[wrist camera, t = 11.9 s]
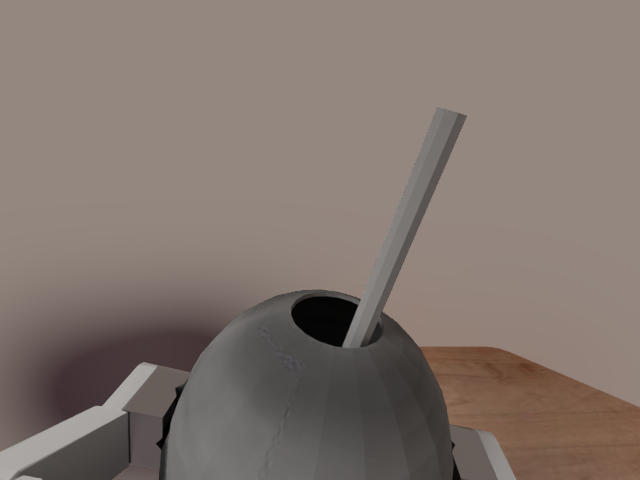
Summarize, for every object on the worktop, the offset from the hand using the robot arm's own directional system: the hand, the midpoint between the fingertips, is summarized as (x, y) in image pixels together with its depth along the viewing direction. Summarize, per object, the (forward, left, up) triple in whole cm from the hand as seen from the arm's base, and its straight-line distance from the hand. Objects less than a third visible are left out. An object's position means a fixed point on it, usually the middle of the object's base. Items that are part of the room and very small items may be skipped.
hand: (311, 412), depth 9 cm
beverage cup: (0, -1, -12) cm, 12 cm away
